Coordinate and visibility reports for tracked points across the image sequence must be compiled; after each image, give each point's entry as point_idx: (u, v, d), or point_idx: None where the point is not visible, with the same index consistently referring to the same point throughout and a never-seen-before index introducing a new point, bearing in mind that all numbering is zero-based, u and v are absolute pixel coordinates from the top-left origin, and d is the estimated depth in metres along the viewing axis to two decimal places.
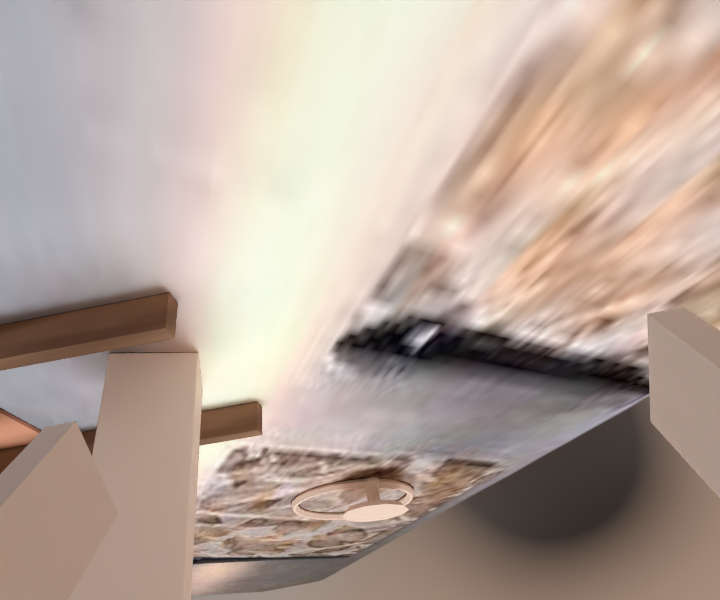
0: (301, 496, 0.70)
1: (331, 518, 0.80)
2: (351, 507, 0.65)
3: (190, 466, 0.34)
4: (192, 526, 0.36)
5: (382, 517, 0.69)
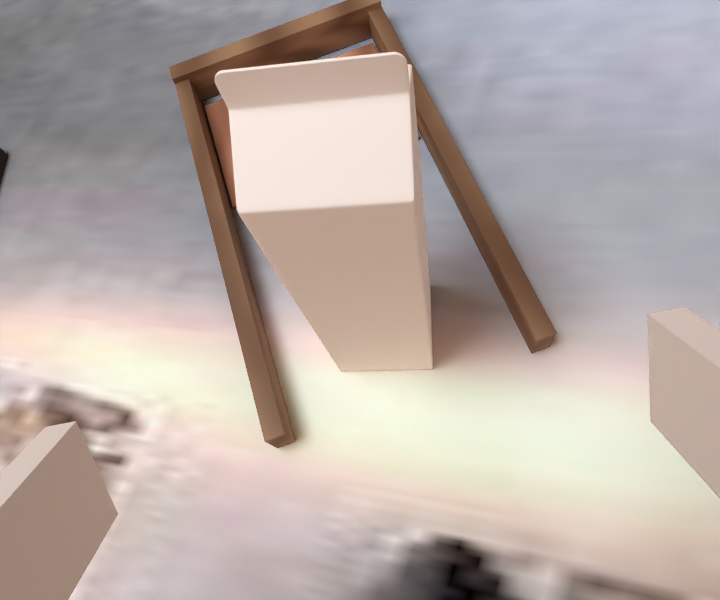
0: None
1: None
2: None
3: (426, 321, 0.27)
4: (341, 303, 0.25)
5: None
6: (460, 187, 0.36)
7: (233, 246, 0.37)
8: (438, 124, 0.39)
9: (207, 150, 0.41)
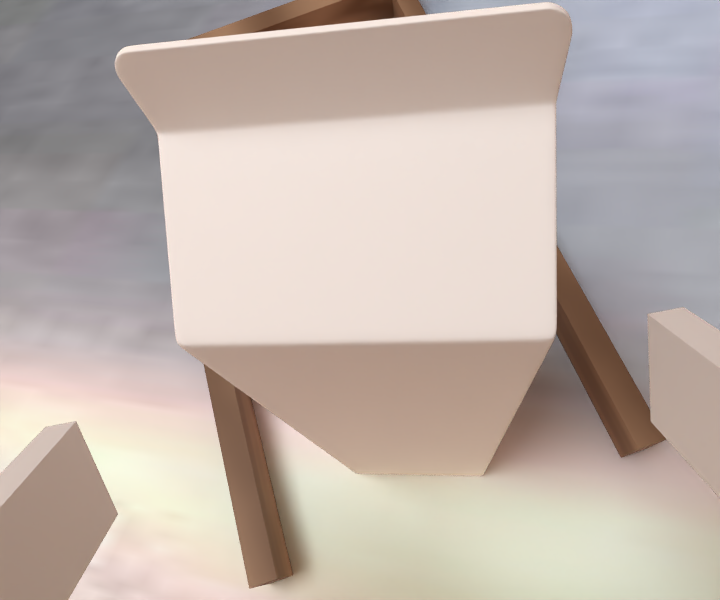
0: None
1: None
2: None
3: (496, 447, 0.18)
4: (368, 433, 0.16)
5: None
6: None
7: None
8: None
9: None
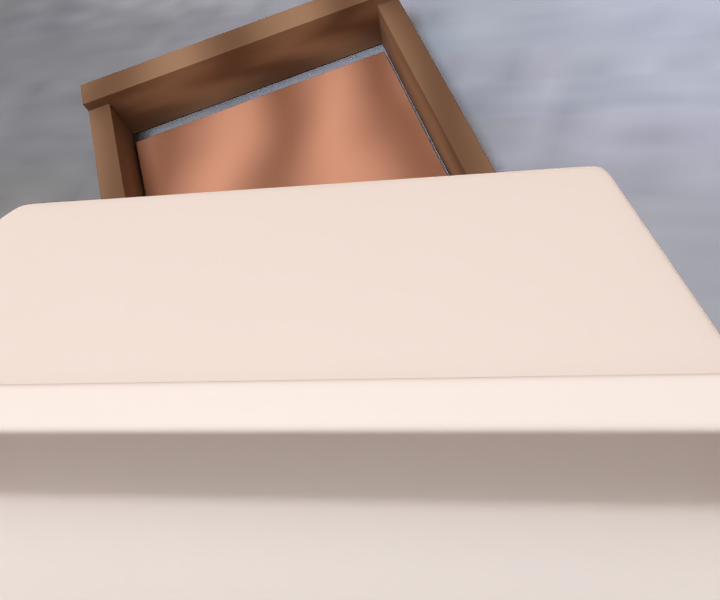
0: None
1: None
2: None
3: None
4: None
5: None
6: None
7: None
8: None
9: None
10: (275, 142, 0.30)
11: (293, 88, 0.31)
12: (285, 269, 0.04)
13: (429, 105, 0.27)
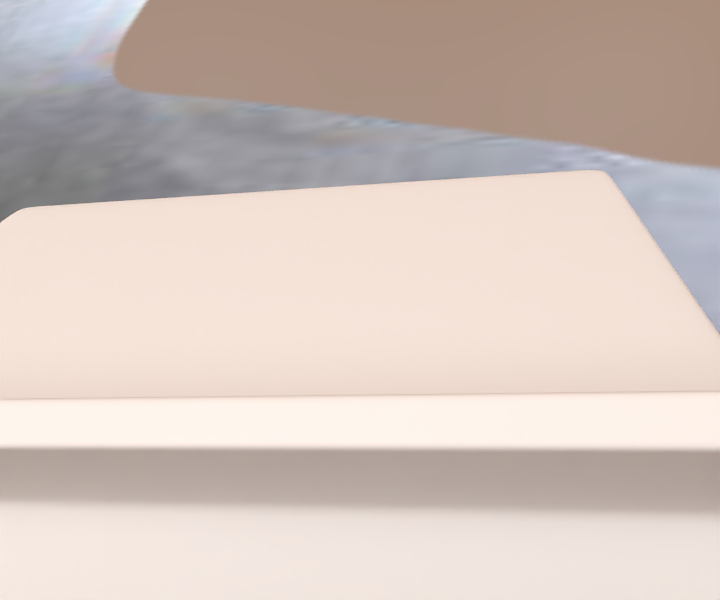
0: None
1: None
2: None
3: None
4: None
5: None
6: None
7: None
8: None
9: None
10: None
11: None
12: (286, 273, 0.04)
13: None
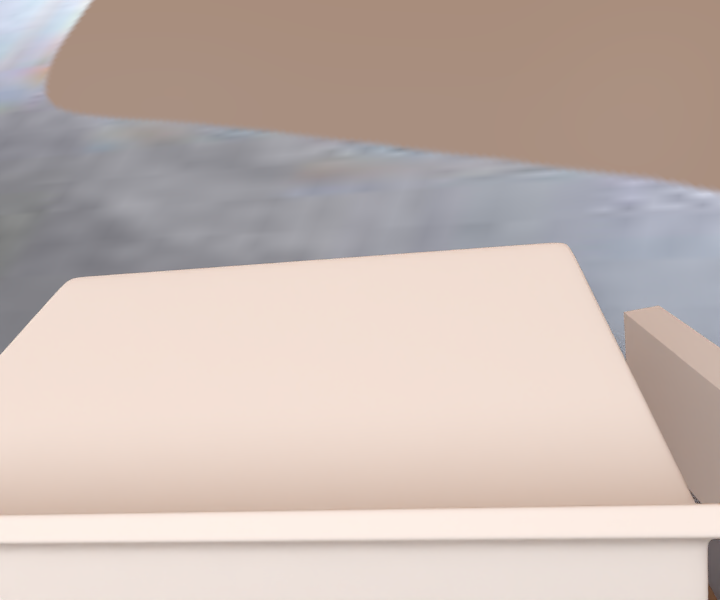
0: None
1: None
2: None
3: None
4: None
5: None
6: None
7: None
8: None
9: None
10: None
11: None
12: (310, 346, 0.05)
13: None
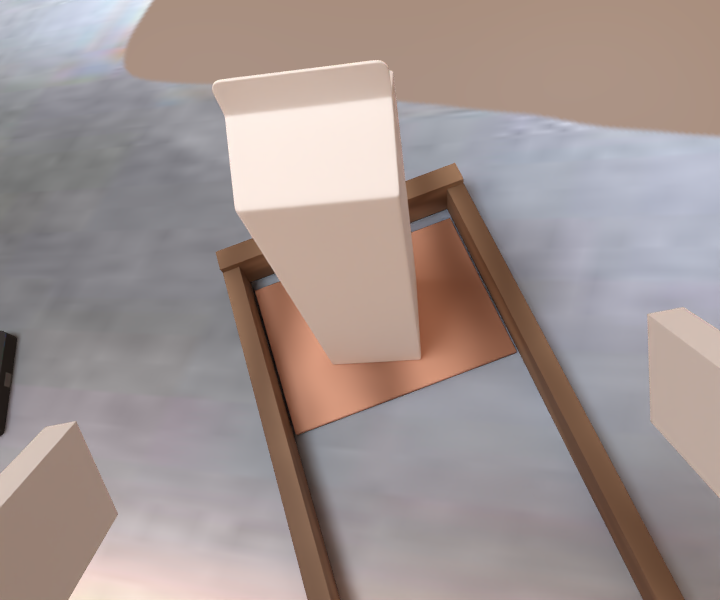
0: None
1: None
2: None
3: (414, 311, 0.29)
4: (333, 296, 0.27)
5: None
6: (582, 448, 0.30)
7: (306, 512, 0.31)
8: (546, 354, 0.33)
9: (266, 369, 0.35)
10: None
11: None
12: None
13: (494, 281, 0.35)
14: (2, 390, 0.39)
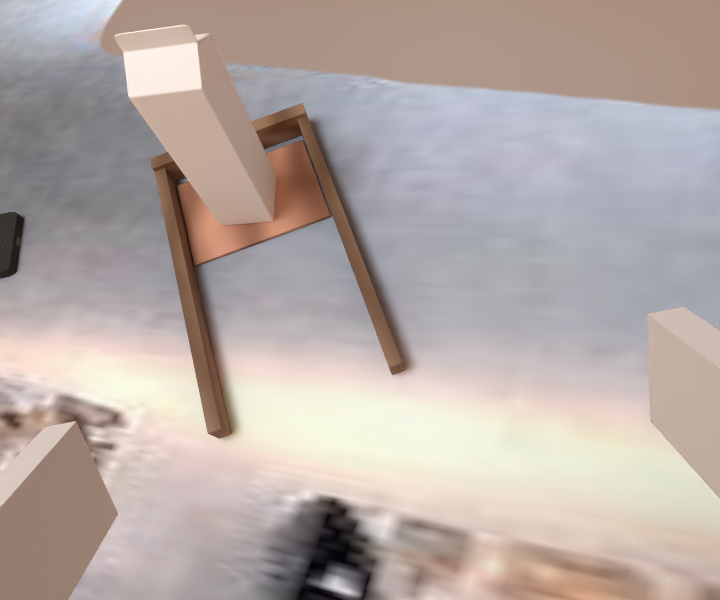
0: None
1: None
2: None
3: (247, 174, 0.51)
4: (197, 160, 0.49)
5: None
6: (350, 258, 0.52)
7: (192, 297, 0.53)
8: (339, 210, 0.55)
9: (176, 224, 0.57)
10: None
11: None
12: None
13: None
14: (15, 246, 0.62)
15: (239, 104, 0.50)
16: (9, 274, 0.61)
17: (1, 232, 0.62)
